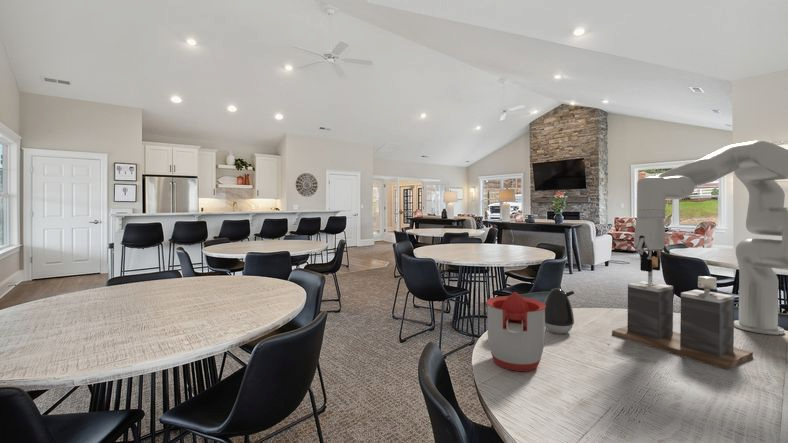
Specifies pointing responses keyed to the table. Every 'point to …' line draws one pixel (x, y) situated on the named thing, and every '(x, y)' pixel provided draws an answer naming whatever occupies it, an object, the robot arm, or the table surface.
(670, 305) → the press station
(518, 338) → the citrus juicer
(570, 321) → the pump dispenser
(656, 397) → the table surface
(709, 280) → the ivory plunger
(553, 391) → the table surface
